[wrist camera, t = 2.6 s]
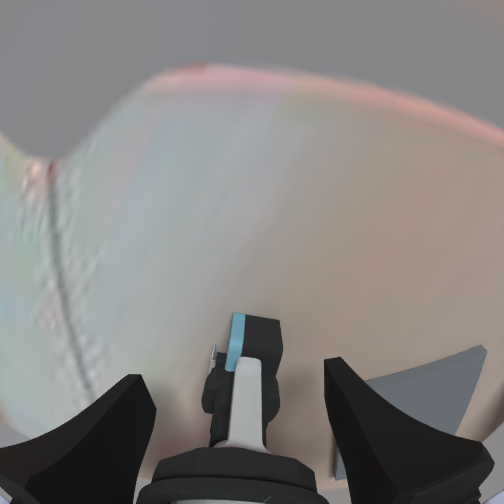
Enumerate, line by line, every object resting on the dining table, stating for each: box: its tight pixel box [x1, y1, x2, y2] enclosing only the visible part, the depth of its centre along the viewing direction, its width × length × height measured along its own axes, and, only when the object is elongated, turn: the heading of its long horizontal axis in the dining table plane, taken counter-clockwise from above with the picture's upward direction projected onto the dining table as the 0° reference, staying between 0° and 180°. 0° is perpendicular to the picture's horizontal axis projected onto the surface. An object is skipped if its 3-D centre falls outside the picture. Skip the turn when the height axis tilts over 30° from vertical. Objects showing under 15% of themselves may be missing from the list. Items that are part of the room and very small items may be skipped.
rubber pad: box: [334, 345, 487, 481], centre depth 15 cm, size 10×10×1 cm
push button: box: [136, 312, 329, 504], centre depth 9 cm, size 7×5×10 cm
